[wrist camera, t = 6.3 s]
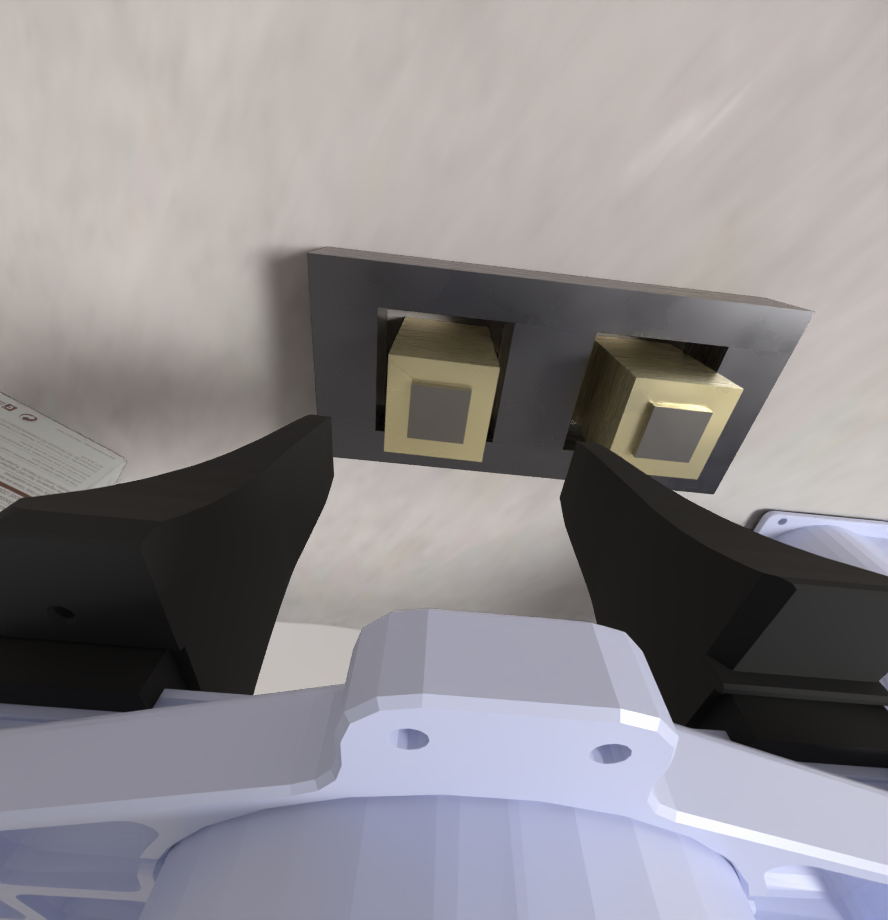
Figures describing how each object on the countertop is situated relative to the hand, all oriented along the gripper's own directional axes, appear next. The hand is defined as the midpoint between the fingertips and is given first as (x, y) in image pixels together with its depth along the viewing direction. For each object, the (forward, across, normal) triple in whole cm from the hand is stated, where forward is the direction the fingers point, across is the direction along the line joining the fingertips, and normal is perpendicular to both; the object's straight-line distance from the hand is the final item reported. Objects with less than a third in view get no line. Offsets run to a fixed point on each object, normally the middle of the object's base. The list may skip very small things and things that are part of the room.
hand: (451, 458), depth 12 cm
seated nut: (+10, -8, 0) cm, 13 cm away
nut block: (+10, 0, 0) cm, 10 cm away
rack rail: (+10, -4, 0) cm, 11 cm away
